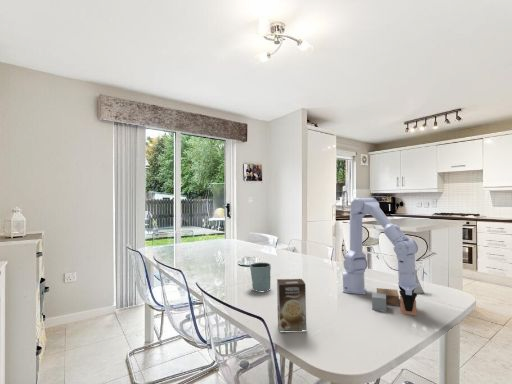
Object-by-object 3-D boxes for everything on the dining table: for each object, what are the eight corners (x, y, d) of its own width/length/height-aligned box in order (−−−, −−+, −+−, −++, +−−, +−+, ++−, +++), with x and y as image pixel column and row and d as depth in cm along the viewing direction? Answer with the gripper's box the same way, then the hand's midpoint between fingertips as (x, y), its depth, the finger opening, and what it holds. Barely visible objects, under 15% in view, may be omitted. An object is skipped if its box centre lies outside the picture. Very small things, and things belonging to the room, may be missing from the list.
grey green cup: (269, 293, 131) (268, 267, 131) (248, 292, 133) (247, 267, 133) (272, 286, 141) (272, 262, 141) (253, 285, 143) (252, 262, 143)
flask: (414, 295, 123) (413, 272, 123) (401, 290, 130) (400, 268, 130) (427, 293, 125) (426, 270, 125) (414, 288, 132) (413, 266, 132)
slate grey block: (372, 309, 109) (371, 297, 109) (372, 305, 114) (372, 292, 114) (386, 311, 107) (386, 298, 107) (386, 306, 112) (385, 294, 112)
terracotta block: (401, 313, 105) (400, 300, 105) (400, 308, 109) (400, 295, 109) (416, 315, 103) (416, 301, 103) (415, 310, 107) (414, 297, 107)
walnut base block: (377, 304, 115) (377, 294, 115) (377, 297, 122) (376, 288, 122) (399, 306, 112) (398, 296, 112) (397, 299, 119) (397, 289, 119)
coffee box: (279, 333, 93) (278, 284, 93) (277, 324, 99) (276, 279, 99) (307, 332, 93) (305, 283, 93) (303, 323, 99) (301, 278, 100)
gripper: (421, 278, 98) (422, 317, 98) (416, 267, 111) (418, 302, 111) (398, 276, 101) (400, 314, 101) (396, 266, 114) (398, 300, 114)
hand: (408, 307), depth 106 cm, fingers closed on terracotta block, 5 cm apart
